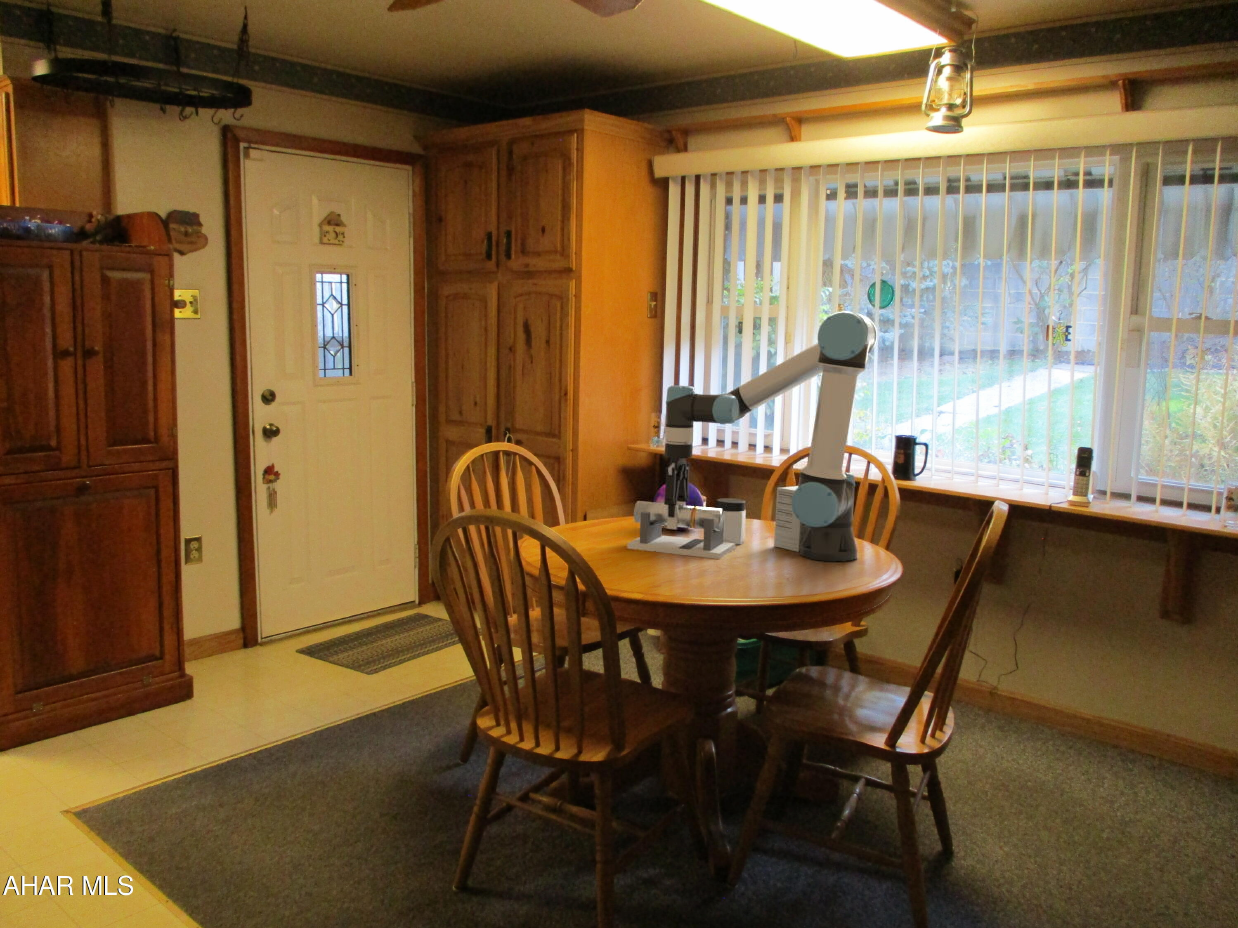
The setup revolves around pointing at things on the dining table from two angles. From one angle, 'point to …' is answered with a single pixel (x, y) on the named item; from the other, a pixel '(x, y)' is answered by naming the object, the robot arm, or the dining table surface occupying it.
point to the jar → (733, 519)
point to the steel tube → (680, 515)
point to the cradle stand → (681, 540)
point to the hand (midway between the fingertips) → (675, 526)
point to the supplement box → (787, 522)
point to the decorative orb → (694, 500)
